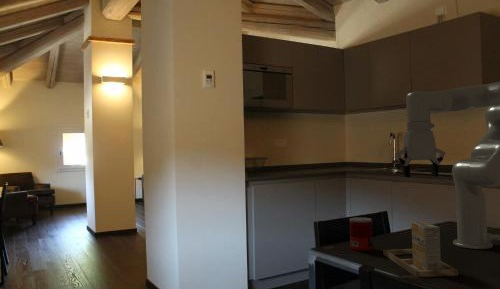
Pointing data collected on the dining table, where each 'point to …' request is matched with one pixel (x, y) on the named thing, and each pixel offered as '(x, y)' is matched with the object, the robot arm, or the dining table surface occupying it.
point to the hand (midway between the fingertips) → (420, 176)
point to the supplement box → (426, 246)
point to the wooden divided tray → (417, 271)
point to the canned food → (361, 234)
